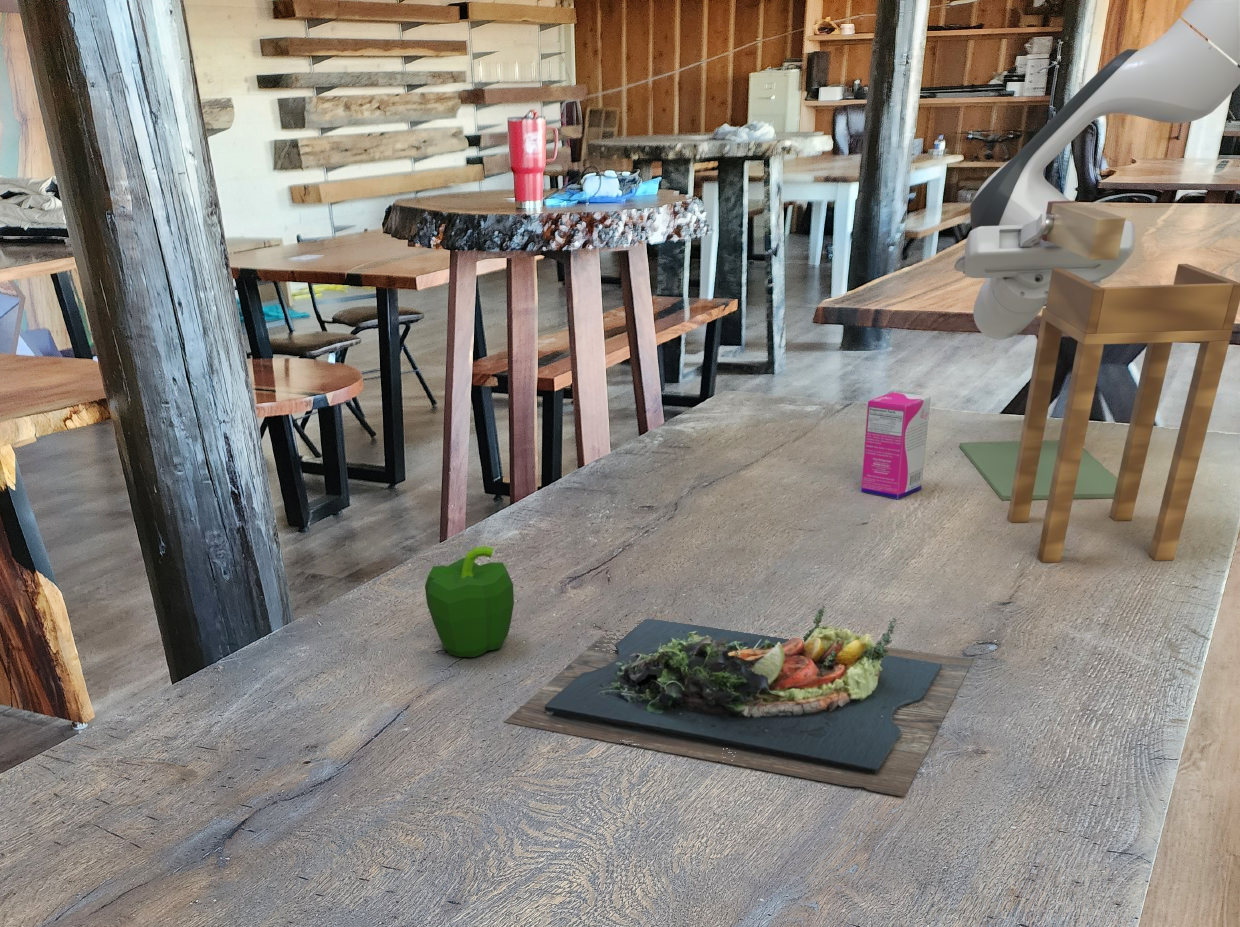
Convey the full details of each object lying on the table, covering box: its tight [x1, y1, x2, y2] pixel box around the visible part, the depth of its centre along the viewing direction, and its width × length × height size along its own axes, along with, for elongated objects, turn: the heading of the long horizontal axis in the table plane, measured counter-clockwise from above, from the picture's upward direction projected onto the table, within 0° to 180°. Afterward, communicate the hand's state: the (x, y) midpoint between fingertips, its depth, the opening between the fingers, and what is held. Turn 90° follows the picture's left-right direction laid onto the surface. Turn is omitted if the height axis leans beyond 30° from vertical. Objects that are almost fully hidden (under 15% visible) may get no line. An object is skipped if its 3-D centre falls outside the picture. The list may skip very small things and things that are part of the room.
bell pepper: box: [424, 545, 515, 658], centre depth 112 cm, size 8×8×10 cm
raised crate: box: [1006, 263, 1240, 563], centre depth 127 cm, size 14×16×27 cm
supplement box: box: [860, 391, 932, 500], centre depth 149 cm, size 6×6×12 cm
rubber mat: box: [959, 439, 1118, 501], centre depth 157 cm, size 16×26×1 cm, turn 176°
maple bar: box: [1042, 200, 1126, 260], centre depth 137 cm, size 3×20×4 cm, turn 176°
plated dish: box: [503, 604, 974, 798], centre depth 103 cm, size 35×28×7 cm
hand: (1067, 218), depth 141 cm, fingers closed on maple bar, 3 cm apart
